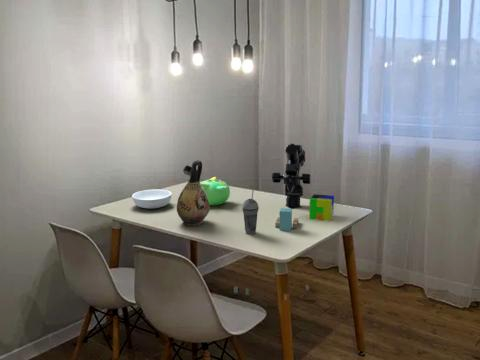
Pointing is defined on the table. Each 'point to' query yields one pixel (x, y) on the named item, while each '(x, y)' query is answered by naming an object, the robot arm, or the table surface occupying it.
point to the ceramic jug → (193, 198)
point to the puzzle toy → (321, 207)
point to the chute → (294, 224)
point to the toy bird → (216, 191)
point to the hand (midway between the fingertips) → (289, 192)
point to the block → (285, 219)
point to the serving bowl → (152, 198)
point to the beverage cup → (250, 215)
